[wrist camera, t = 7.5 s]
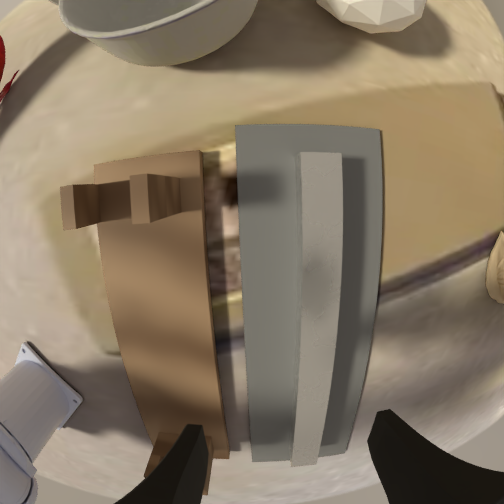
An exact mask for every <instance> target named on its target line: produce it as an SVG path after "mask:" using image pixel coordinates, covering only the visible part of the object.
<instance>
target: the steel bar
mask: <svg viewBox="0 0 504 504" xmlns="http://www.w3.org/2000/svg"><path fill="white" fill-rule="evenodd" d="M295 184H296V231H297V288H296V335H295V362H294V383H293V401H292V417H291V430H290V443H289V454H290V462H291V467H295V466H305V465H314V464H316V463H317V459H318V454H319V449H320V445H321V440H322V435H323V429H324V424H325V418H326V413H327V407H328V400H329V394H330V387H331V380H332V373H333V365H334V357H335V348H336V339H337V329H338V318H339V305H340V291H341V273H342V246H343V180H342V154H341V153H328V152H300V153H299V154H297V155H296V156H295Z"/></svg>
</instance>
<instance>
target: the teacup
mask: <svg viewBox="0 0 504 504" xmlns="http://www.w3.org/2000/svg"><path fill="white" fill-rule="evenodd" d="M49 1H50V2H52V3H54V4H56V5H59V14H60V18H61V20H62V22H63V24H64V25H65V26H66V27H67V28H68V29H69V30H70V31H71V32H73V33H74V34H77V35H79V36H82V37H86V38H87V39H88V40H90V41H91V42H93V43H94V44H96V45H97V46H99V47H100V48H102V49H103V50H105V51H107V52H109V53H110V54H112V55H114V56H115V57H117V58H120V59H122V60H124V61H127V62H129V63H133V64H137V65H143V66H171V65H176V64H181V63H185V62H189V61H192V60H195V59H198V58H200V57H203V56H205V55H207V54H209V53H211V52H213V51H215V50H217V49H218V48H220V47H222V46H223V45H225V44H226V43H227V42H229V41H230V40H231V39H233V38H234V37H235V36H236V35H237V34H238V33H239V32H240V31H241V30H242V29H243V28H244V26H245V25H246V24H247V22H248V21H249V20H250V18H251V16H252V14H253V12H254V10H255V8H256V5H257V2H258V0H49Z"/></svg>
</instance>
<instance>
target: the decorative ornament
mask: <svg viewBox="0 0 504 504" xmlns="http://www.w3.org/2000/svg"><path fill="white" fill-rule="evenodd" d="M486 287H487V289H488V293H489V295H490V297H491V298H492V299H495V300H497V302H498V303H503V304H504V233H503V232H502V231H501V232H500V234H499V237H498V239H497V241H496V243H495V246H494V248H493V249H492V251H491V254H490V258H489V260H488V268H487V271H486Z"/></svg>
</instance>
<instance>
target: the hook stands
mask: <svg viewBox="0 0 504 504" xmlns="http://www.w3.org/2000/svg"><path fill="white" fill-rule="evenodd" d="M60 193H61V209H62V220H63V230H71V229H78V228H81V227H85V226H89V225H93V224H96V223H97V227H98V237H99V245H100V253H101V260H102V267H103V273H104V279H105V285H106V291H107V296H108V301H109V306H110V311H111V315H112V320H113V324H114V328H115V333H116V337H117V341H118V344H119V348H120V352H121V356H122V359H123V363H124V366H125V369H126V373H127V376H128V379H129V382H130V386H131V389H132V392H133V395H134V398H135V400H136V403H137V406H138V409H139V412H140V414H141V417H142V420H143V422H144V425H145V427H146V430H147V432H148V435H149V437H150V440H151V442H152V444H153V447H154V448H153V450H152V453H151V456H150V459H149V462H148V465H147V468H146V470H145V473H144V477H145V478H146V477H147V476H148V475H149V474H150V473H151V472H152V471H153V469H154V468H155V467H156V466H157V465H158V464H159V463H160V461H161V460H162V459H163V458H164V456H165V455H166V454H167V452H168V451H169V450H170V449H171V447H172V446H173V444H174V443H175V441H176V440H177V438H178V437H179V435H180V434H181V432H182V430H183V429H184V427H185V425H187V424H196V425H202V426H203V430H204V435H205V439H206V444H207V448H208V452H209V456H208V468H207V476H206V480H205V485H204V490H203V494H202V495H208V488H209V481H210V474H211V467H212V460H213V458H216V459H229V455H230V449H229V443H228V436H227V430H226V423H225V416H224V409H223V402H222V394H221V386H220V378H219V370H218V362H217V353H216V344H215V334H214V324H213V314H212V303H211V292H210V280H209V268H208V254H207V239H206V223H205V204H204V183H203V155H202V152H201V151H200V150H197V151H186V152H177V153H168V154H159V155H152V156H144V157H137V158H131V159H124V160H118V161H112V162H107V163H101V164H96V165H94V184H83V185H69V186H64V187H60Z"/></svg>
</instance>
